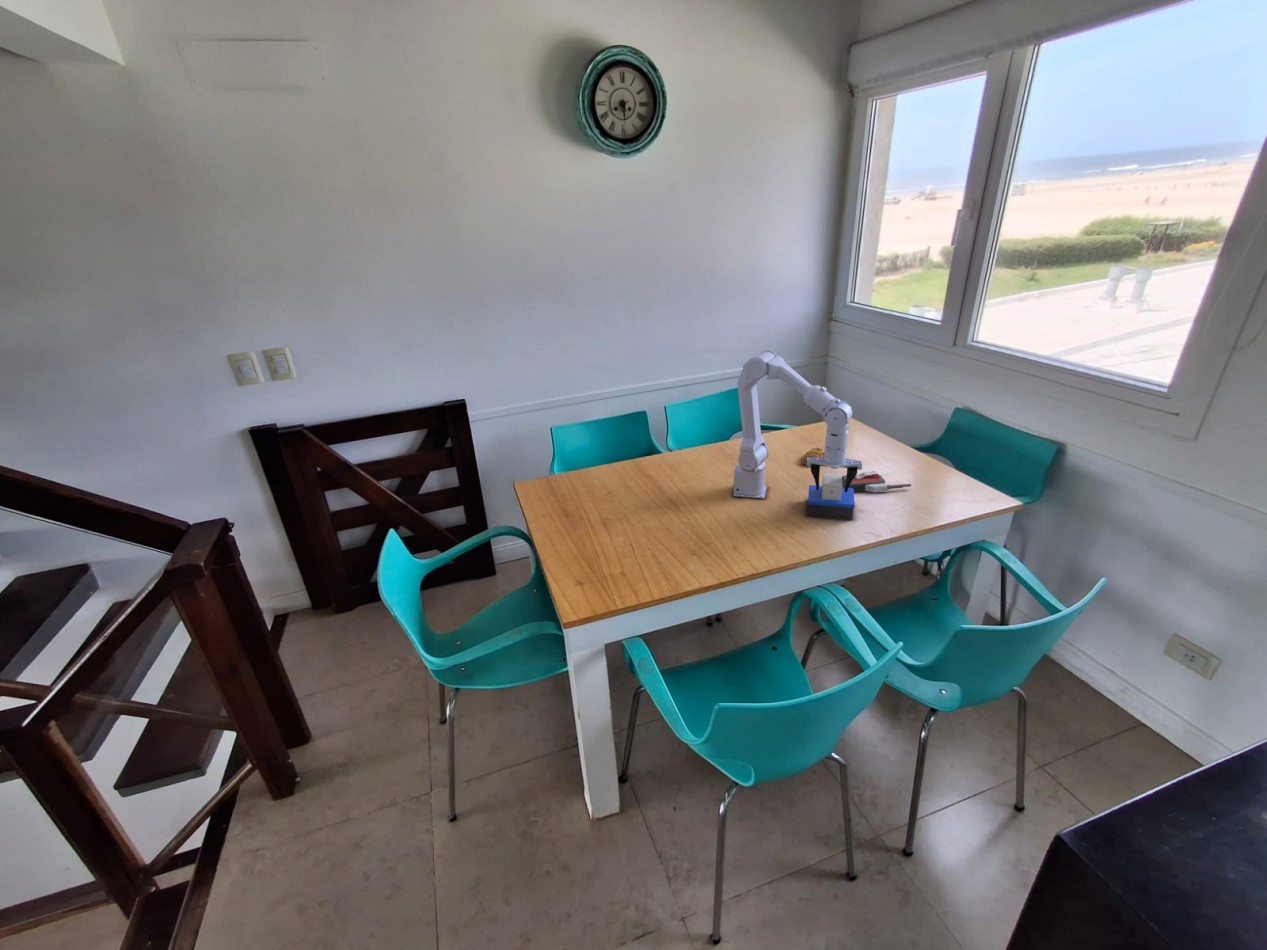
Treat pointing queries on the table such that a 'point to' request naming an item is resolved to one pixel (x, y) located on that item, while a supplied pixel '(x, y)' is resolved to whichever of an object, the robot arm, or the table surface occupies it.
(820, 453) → the pastry
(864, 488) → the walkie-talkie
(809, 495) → the container
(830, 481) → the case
